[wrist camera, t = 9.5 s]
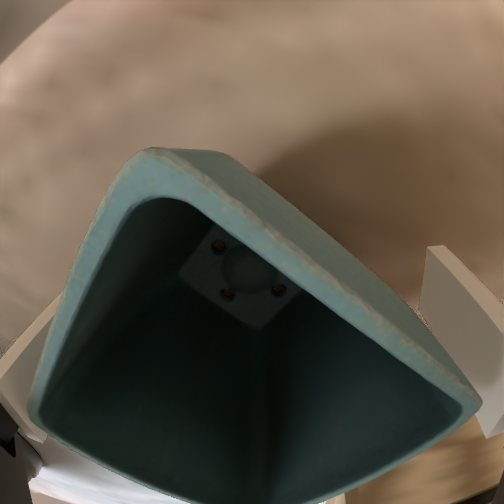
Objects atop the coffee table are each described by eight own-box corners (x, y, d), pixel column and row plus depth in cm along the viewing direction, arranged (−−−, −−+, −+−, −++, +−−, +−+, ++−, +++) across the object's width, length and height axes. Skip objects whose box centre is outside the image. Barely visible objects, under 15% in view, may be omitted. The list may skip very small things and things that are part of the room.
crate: (324, 493, 24) (328, 560, 17) (335, 422, 18) (348, 529, 11) (466, 460, 22) (484, 516, 15) (520, 374, 17) (561, 445, 9)
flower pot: (391, 252, 13) (492, 409, 5) (266, 368, 16) (259, 525, 8) (232, 119, 11) (138, 129, 3) (124, 276, 15) (23, 418, 6)
